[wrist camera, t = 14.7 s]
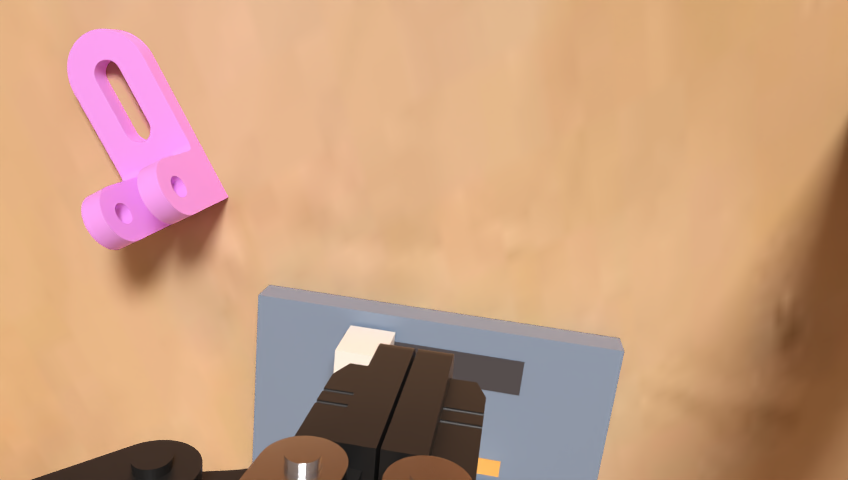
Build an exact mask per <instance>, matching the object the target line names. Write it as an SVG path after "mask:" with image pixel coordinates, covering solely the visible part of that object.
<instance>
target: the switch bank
mask: <svg viewBox="0 0 848 480" xmlns="http://www.w3.org/2000/svg"><path fill="white" fill-rule="evenodd" d="M351 325H352V326H359V327H365V328H371V329H378V330H384V331H390V332H395V342H394V345H396V346H402V347H409V348H416V352H417V351H418V349H423V350H430V351H437V352H444V353H450V354H454V368H453V377H452V379H458V380H464V381H471V382H477V383H478V385H479V387H480V388H481V390H482V392H483V393H484V395H485V397H486V403H485V411H484V419H483V426H482V434H481V442H480V450H479V458H478V466H477V474H476V480H597V478H598V473H599V469H600V464H601V459H602V454H603V450H604V445H605V440H606V435H607V431H608V426H609V421H610V416H611V412H612V407H613V402H614V398H615V393H616V388H617V383H618V379H619V374H620V369H621V364H622V360H623V355H624V349H623V346H622V344H621V341H620V338H614V337H608V336H601V335H595V334H588V333H582V332H575V331H568V330H562V329H555V328H549V327H542V326H536V325H529V324H522V323H516V322H509V321H503V320H496V319H490V318H483V317H477V316H470V315H463V314H457V313H450V312H444V311H437V310H431V309H424V308H417V307H411V306H404V305H398V304H391V303H385V302H378V301H372V300H365V299H358V298H352V297H345V296H339V295H332V294H326V293H319V292H312V291H306V290H299V289H293V288H286V287H280V286H273V285H269V286H268V287H267V288H266V289H264V290H263V291H262V292H261V293H260V294H259V296H258V324H257V352H256V380H255V408H254V436H253V462H254V461H255V459H256V458H257V457H258V456H259V454H260V453H261V452H262V451H263V450H264V449H265V448H266V447H268V446H269V445H270V444H272V443H274V442H276V441H279V440H281V439H284V438H288V437H294V436H295V434H296V433H297V431H298V430H299V428H300V426H301V425H302V423H303V421H304V420H305V418H306V416H307V415H308V413H309V412H310V410H311V408H312V407H313V405H314V403H316V402H317V398H318V397H319V395H320V394H321V392H322V391H324V387H325V385H326V384H327V382H328V381H329V379H330V377H331V376H332V374H333V373H334V360H335V350H336V348H337V346H338V345H339V343H340V342H341V340H342V338H343V337H344V335H345V334H346V332H347V330H348V329H349V327H350V326H351Z"/></svg>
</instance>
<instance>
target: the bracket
mask: <svg viewBox="0 0 848 480" xmlns="http://www.w3.org/2000/svg"><path fill="white" fill-rule="evenodd" d="M111 61H113V62H114V63H116V64H117V66H118V67H119V69H120V70H121V72H122V74H123V76H124V78H125V80H126V81H127V83H128V85H129V87H130V89H131V91H132V92H133V94H134V96H135V98H136V100H137V102H138V104H139V105H140V107H141V109H142V111H143V113H144V115H145V116H146V118H147V120H148V122H149V124H150V128H151V132H150V136H149V137H148V139H147V140H146V139H143V138H142V137H140V136H139V135H138V133H137V132H136V130H135V128H134V126H133V125H132V123H131V121H130V119H129V117H128V115H127V114H126V112H125V110H124V108H123V106H122V104H121V103H120V101H119V99H118V97H117V95H116V94H115V92H114V90H113V88H112V86H111V84H110V83H109V81H108V79H107V76H106V68H107V66H108V64H109V63H110V62H111ZM67 71H68V78H69V82H70V85H71V88H72V90H73V92H74V94H75V96H76V97H77V99H78V101H79V103H80V104H81V106H82V108H83V110H84V112H85V113H86V115H87V117H88V119H89V120H90V122H91V124H92V126H93V128H94V129H95V131H96V133H97V135H98V137H99V138H100V140H101V142H102V144H103V145H104V147H105V149H106V151H107V153H108V154H109V156H110V158H111V160H112V161H113V163H114V165H115V167H116V169H117V170H118V172H119V174H120V176H121V178H122V182H120V183H116V184H113V185H110V186H107V187H105V188H103V189H101V190H99V191H97V192H95V193H93V194H91V195H89V196H88V197H86V198H85V199H84V201H83V203H82V209H81V212H82V218H83V222H84V224H85V226H86V228H87V230H88V232H89V233H90V235H91V236H92V237H93V238H94V239H95V240H96V241H97V242H98V243H99V244H101V245H102V246H104V247H106V248H108V249H112V250H119V249H121V248H124V247H126V246H128V245H130V244H132V243H134V242H136V241H138V240H140V239H143V238H145V237H147V236H149V235H151V234H153V233H155V232H157V231H159V230H161V229H163V228H165V227H167V226H169V225H171V224H174V223H176V222H179V221H181V220H183V219H185V218H187V217H189V216H191V215H193V214H195V213H197V212H200V211H202V210H204V209H206V208H208V207H210V206H212V205H214V204H216V203H218V202H220V201H222V200H224V199H226V198H228V195H227V194H226V192H225V190H224V188H223V186H222V184H221V182H220V180H219V178H218V177H217V175H216V173H215V171H214V169H213V167H212V165H211V163H210V162H209V160H208V158H207V156H206V154H205V152H204V150H203V148H202V146H201V145H200V143H199V141H198V139H197V137H196V135H195V133H194V131H193V130H192V128H191V126H190V124H189V122H188V120H187V118H186V116H185V114H184V113H183V111H182V109H181V107H180V105H179V103H178V101H177V99H176V98H175V96H174V94H173V92H172V90H171V88H170V86H169V84H168V82H167V81H166V79H165V77H164V75H163V73H162V71H161V69H160V67H159V66H158V64H157V62H156V60H155V58H154V56H153V54H152V53H151V51H150V50H149V48H148V47H147V46H146V45H145V43H143V42H142V41H141V40H140V39H139V38H138V37H136V36H134V35H133V34H131V33H128V32H126V31H122V30H114V29H96V30H92V31H89V32H87V33H85V34H83V35H82V36H81V37H80V38H79V39H78V40H77V41H76V42H75V43H74V45H73V47H72V48H71V51H70V53H69V57H68V64H67Z"/></svg>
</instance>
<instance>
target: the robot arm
mask: <svg viewBox="0 0 848 480" xmlns="http://www.w3.org/2000/svg"><path fill="white" fill-rule="evenodd" d="M453 368H454V354H450V353H444V352H437V351H430V350H423V349H418V351H417V352H416V348H409V347H402V346H396V345H389V344H382V343H380V344H379V346H378V348H377V350H376V351H375V353H374V355H373V357H372V359H371V361H370V363H369V365H368V366H365V365H359V364H352V363H350V364H348V365H346V366H345V367H343V368H341V369H340V370H338V371H336V372H335V373H333V374H332V376H331V377H330V379H329V381H328V382H327V384H326V385H325V387H324V391H322V392H321V394H320V395H319V397H318V398H317V402H316V403H314V405H313V407H312V408H311V410H310V412H309V413H308V415H307V416H306V418H305V420H304V421H303V423H302V425H301V426H300V428H299V430H298V431H297V433H296V434H295V436H294V437H288V438H284V439H281V440H279V441H276V442H274V443H272V444H270V445H269V446H268V447H266V448H265V449H264V450H263V451H262V452H261V453H260V454H259V456H258V457H257V458H256V459H255V461H254V462H253V463H252V464H251V465H250V467H249V468H248V469H242V470H228V471H206V472H202V457H201V455H200V453H199V452H198V451H197V450H196V449H195V448H194V447H192V446H190V445H188V444H186V443H183V442H178V441H172V440H156V441H148V442H143V443H140V444H136V445H133V446H130V447H127V448H124V449H121V450H118V451H115V452H112V453H109V454H106V455H103V456H100V457H97V458H94V459H91V460H88V461H85V462H83V463H80V464H77V465H74V466H71V467H68V468H65V469H62V470H59V471H56V472H53V473H50V474H47V475H44V476H41V477H38V478H35V479H32V480H476V474H477V466H478V458H479V450H480V442H481V434H482V426H483V419H484V411H485V403H486V397H485V395H484V393H483V392H482V390H481V388H480V387H479V385H478V383H477V382H471V381H464V380H458V379H452V377H453Z"/></svg>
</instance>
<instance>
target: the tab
mask: <svg viewBox="0 0 848 480" xmlns="http://www.w3.org/2000/svg"><path fill="white" fill-rule="evenodd" d="M394 342H395V332H390V331H384V330H378V329H371V328H365V327H359V326H352V325H351V326H350V327H349V329H348V330H347V332H346V334H345V335H344V337H343V338H342V340H341V342H340V343H339V345H338V346H337V348H336V350H335V360H334V373H335V372H336V371H338V370H340V369H341V368H343V367H345V366H346V365H348V364H350V363H352V364H359V365H365V366H368V365H369V363H370V361H371V359H372V357H373V355H374V353H375V351H376V350H377V348H378V346H379V344H380V343H382V344H389V345H394Z"/></svg>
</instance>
